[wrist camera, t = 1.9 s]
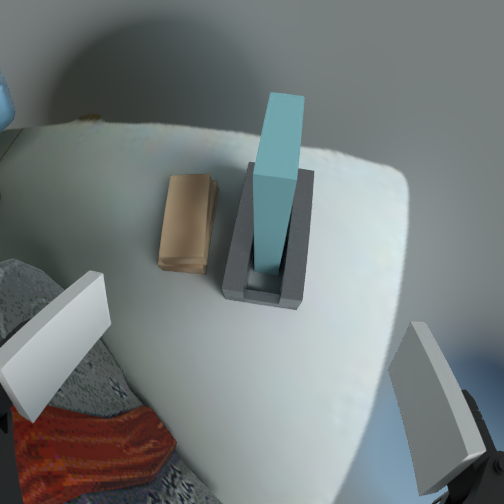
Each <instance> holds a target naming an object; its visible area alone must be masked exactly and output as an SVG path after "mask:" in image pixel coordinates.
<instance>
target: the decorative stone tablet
mask: <svg viewBox="0 0 504 504" xmlns="http://www.w3.org/2000/svg"><path fill="white" fill-rule="evenodd" d="M64 291H65V290H64V289H63V288H61V287H60V286H59V285H58V284H57V283H56V282H55V281H54V280H52V279H51V278H50V277H49V276H48V275H47V274H46V273H45V272H44V271H43V270H40V269H38V268H35V267H33V266H31V265H28V264H26V263H24V262H22V261H19V260H16V259H13V258H12V259H9V260H6V261H3V262H0V341H1V340H2V339H3V338H6V336H7V335H8V334H9V333H10V332H12V330H13V329H14V328H15V327H16V326H18V325H19V324H20V323H22V322H24V321H26V320H28V319H30V318H33V317H34V316H35V315H37V314H38V313H39V312H40V311H41V310H42V309H43V308H45V307H46V306H47V305H48V304H49V303H50V302H52V301H53V300H54V299H55V298H56V297H58V296H59V295H60V294H61V293H62V292H64ZM10 410H11V411H12V415H13V434H14V446H15V455H16V463H17V470H18V477H19V482H20V488H21V493H22V498H23V502H24V504H223V503H222V502H221V501H219V500H218V499H217V498H216V497H215V495H214V494H213V493H212V492H211V491H210V490H209V489H208V488H207V487H206V486H205V485H204V484H203V483H202V482H201V481H200V480H199V479H198V477H197V476H196V475H195V474H194V473H193V472H192V471H191V470H190V469H189V467H188V466H187V465H186V464H185V463H184V462H183V460H182V459H181V458H180V457H179V456H178V454H177V453H176V452H175V447H176V443H177V441H176V440H175V439H174V438H173V436H172V435H171V434H170V432H169V431H168V430H167V429H166V427H165V426H164V425H163V423H162V422H161V421H160V419H159V418H158V416H157V415H156V414H155V412H154V411H153V409H151V408H149V407H146V406H144V405H143V404H142V402H141V401H140V400H139V399H138V398H137V397H136V396H135V395H134V394H133V392H132V391H131V390H130V389H129V387H128V385H127V383H126V380H125V378H124V376H123V373H122V372H121V370H120V368H119V367H118V365H117V363H116V362H115V360H114V358H113V357H112V355H111V354H110V353H109V351H108V350H107V348H106V347H105V345H104V344H103V343H102V341H101V340H100V338H99V339H98V340H97V342H96V343H95V344H94V345H93V347H92V348H91V349H90V350H89V351H88V353H87V354H86V355H85V356H84V358H83V359H82V360H81V361H80V363H79V364H78V365H77V366H76V368H75V369H74V370H73V371H72V373H71V374H70V375H69V376H68V378H67V379H66V380H65V382H64V383H63V384H62V385H61V387H60V388H59V389H58V391H57V392H56V393H55V395H54V396H53V397H52V399H51V400H50V401H49V403H48V404H47V405H46V407H45V408H44V409H43V411H42V412H41V413H40V415H39V416H38V417H37V419H36V420H35V422H34V423H32V422H31V421H29V420H27V419H26V418H24V417H23V416H21V415H20V414H19V413H18V411H17V410H16V408H15V406H14V405H12V406H11V408H10Z"/></svg>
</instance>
